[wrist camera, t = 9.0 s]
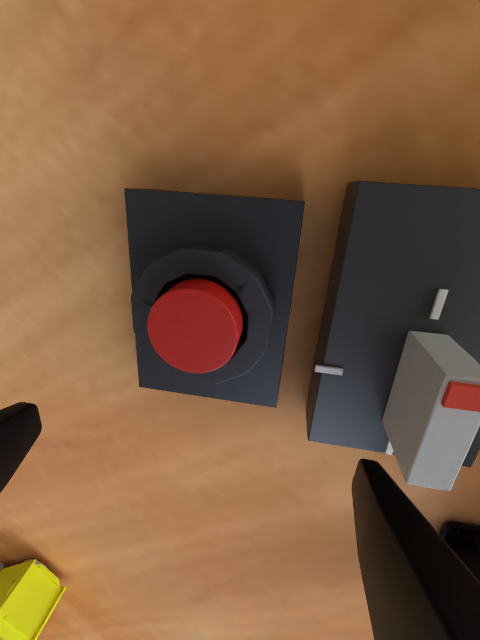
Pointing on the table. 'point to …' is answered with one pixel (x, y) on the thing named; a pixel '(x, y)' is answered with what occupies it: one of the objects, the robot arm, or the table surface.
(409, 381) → the grey block red tip
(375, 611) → the robot arm
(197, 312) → the power button
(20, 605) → the yellow toy chassis
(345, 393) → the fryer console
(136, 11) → the table surface
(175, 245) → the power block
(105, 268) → the table surface
